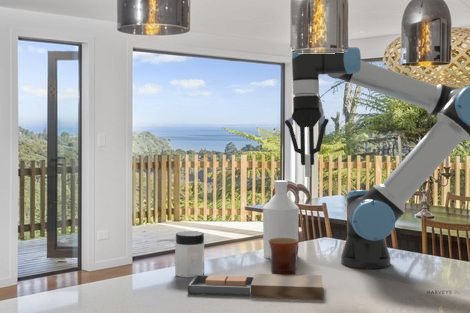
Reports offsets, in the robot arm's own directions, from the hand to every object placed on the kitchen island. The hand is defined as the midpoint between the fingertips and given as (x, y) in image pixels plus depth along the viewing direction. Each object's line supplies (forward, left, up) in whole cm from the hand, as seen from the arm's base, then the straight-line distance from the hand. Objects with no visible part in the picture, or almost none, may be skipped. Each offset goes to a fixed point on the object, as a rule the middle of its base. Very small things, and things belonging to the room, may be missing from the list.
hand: (307, 176), depth 175 cm
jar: (+34, +6, -29) cm, 45 cm away
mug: (+6, +3, -29) cm, 29 cm away
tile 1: (+24, +21, -25) cm, 41 cm away
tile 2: (+18, +21, -28) cm, 40 cm away
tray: (+22, +21, -28) cm, 42 cm away
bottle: (+9, -22, -29) cm, 37 cm away
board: (+5, +21, -28) cm, 36 cm away
